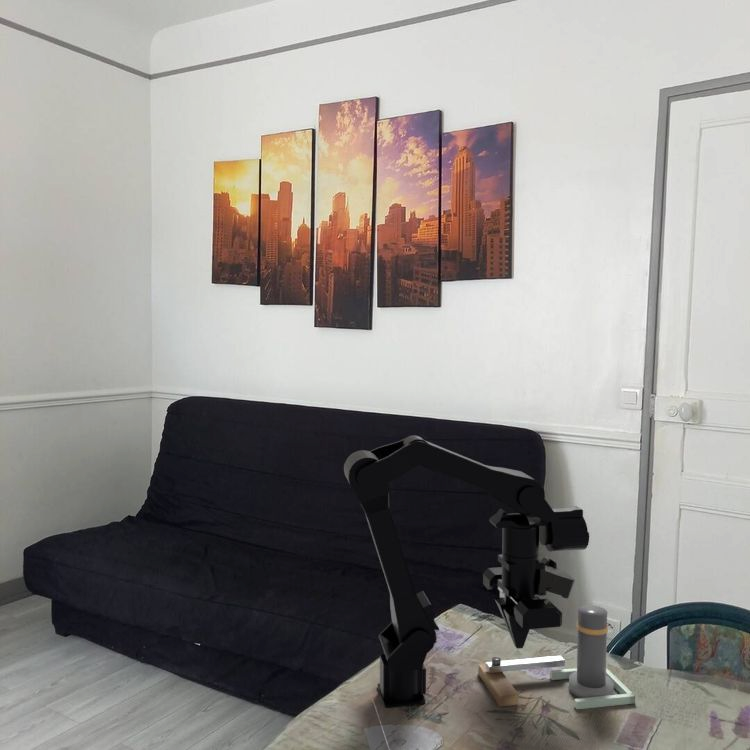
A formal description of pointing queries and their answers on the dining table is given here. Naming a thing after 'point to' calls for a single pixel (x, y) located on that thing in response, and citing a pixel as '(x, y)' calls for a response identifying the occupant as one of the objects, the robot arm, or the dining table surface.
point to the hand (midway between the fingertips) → (519, 647)
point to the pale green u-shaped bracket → (601, 701)
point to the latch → (524, 663)
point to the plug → (591, 655)
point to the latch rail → (498, 686)
